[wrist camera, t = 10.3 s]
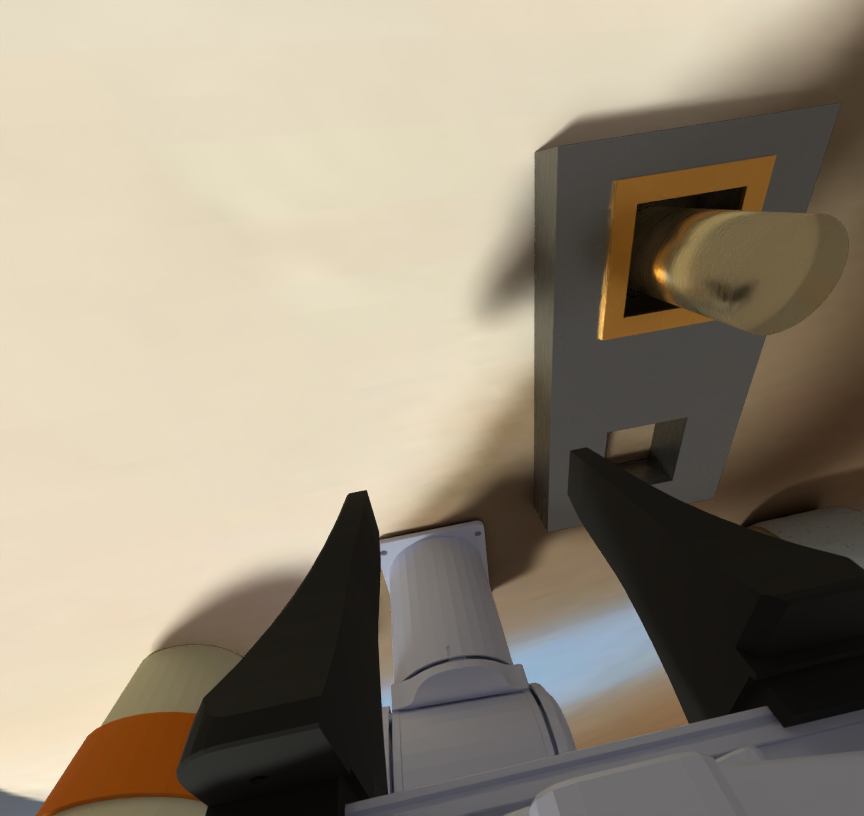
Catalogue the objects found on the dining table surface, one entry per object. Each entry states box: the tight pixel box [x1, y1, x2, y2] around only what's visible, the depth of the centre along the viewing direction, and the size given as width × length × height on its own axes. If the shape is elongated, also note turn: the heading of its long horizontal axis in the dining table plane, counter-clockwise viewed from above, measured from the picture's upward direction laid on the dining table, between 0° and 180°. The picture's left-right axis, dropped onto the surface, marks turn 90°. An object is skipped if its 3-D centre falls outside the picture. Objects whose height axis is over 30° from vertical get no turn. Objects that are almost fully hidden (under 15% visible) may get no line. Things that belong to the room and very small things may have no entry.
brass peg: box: [627, 207, 849, 335], centre depth 17 cm, size 4×4×8 cm
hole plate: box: [534, 103, 841, 532], centre depth 22 cm, size 22×12×3 cm, turn 8°
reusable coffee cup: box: [36, 645, 242, 816], centre depth 26 cm, size 13×13×15 cm
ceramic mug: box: [747, 506, 864, 569], centre depth 31 cm, size 11×8×8 cm
